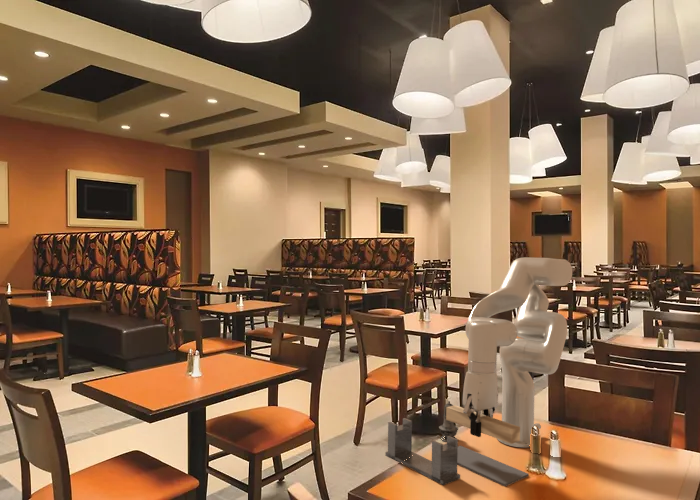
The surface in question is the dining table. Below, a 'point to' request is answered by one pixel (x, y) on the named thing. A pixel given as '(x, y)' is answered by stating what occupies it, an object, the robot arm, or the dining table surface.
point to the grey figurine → (447, 426)
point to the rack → (437, 469)
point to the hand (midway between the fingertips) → (480, 433)
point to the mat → (488, 467)
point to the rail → (485, 425)
